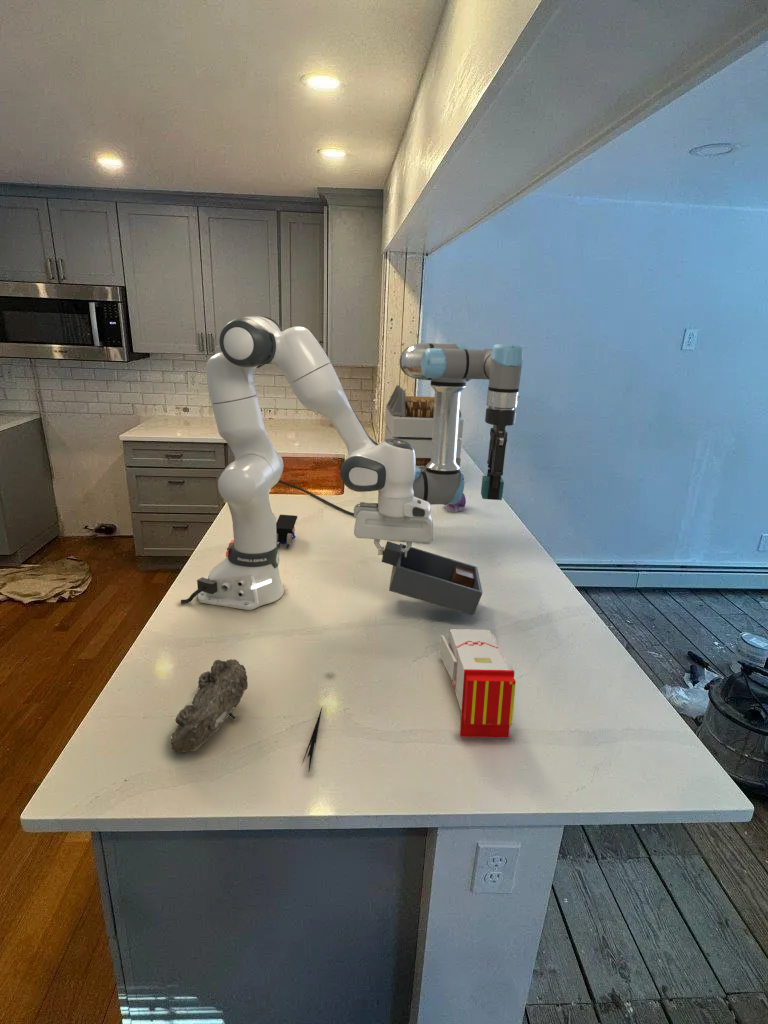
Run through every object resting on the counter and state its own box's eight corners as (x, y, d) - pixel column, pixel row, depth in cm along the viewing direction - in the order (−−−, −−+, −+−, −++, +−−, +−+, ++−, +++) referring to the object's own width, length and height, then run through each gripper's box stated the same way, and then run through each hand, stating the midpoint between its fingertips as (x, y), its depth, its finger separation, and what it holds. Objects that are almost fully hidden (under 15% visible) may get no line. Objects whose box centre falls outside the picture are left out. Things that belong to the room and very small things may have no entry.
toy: (489, 613, 130) (525, 677, 101) (485, 667, 133) (518, 744, 104) (437, 612, 130) (457, 676, 101) (434, 666, 133) (453, 743, 103)
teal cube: (482, 498, 148) (484, 480, 147) (480, 493, 153) (482, 475, 151) (501, 500, 148) (504, 481, 147) (499, 494, 153) (501, 476, 151)
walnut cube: (449, 589, 149) (456, 573, 148) (449, 581, 154) (455, 565, 152) (468, 595, 150) (474, 578, 148) (466, 586, 154) (472, 570, 153)
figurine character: (292, 555, 182) (298, 532, 196) (292, 534, 179) (298, 513, 192) (272, 554, 182) (279, 532, 195) (270, 533, 179) (278, 512, 192)
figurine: (452, 514, 221) (455, 477, 216) (438, 506, 229) (441, 470, 224) (472, 511, 225) (475, 475, 220) (457, 503, 234) (460, 468, 229)
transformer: (381, 463, 289) (385, 382, 275) (444, 464, 292) (450, 384, 279) (389, 482, 257) (393, 392, 243) (459, 483, 261) (467, 394, 247)
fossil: (195, 660, 117) (247, 628, 112) (227, 691, 120) (279, 661, 115) (146, 746, 98) (206, 711, 93) (185, 779, 101) (245, 748, 96)
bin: (374, 586, 140) (384, 556, 138) (379, 561, 155) (388, 533, 152) (473, 616, 141) (485, 586, 138) (469, 588, 156) (479, 561, 153)
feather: (331, 679, 122) (336, 673, 122) (307, 777, 96) (313, 769, 95) (324, 675, 122) (329, 669, 121) (298, 772, 95) (304, 764, 95)
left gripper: (352, 505, 139) (350, 557, 143) (436, 511, 138) (431, 563, 142) (355, 497, 145) (353, 547, 149) (435, 503, 144) (431, 553, 148)
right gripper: (522, 414, 134) (510, 507, 142) (511, 403, 151) (501, 487, 159) (490, 413, 135) (480, 505, 142) (482, 402, 151) (474, 485, 159)
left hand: (392, 555), depth 146 cm, fingers closed on bin, 4 cm apart
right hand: (491, 495), depth 151 cm, fingers closed on teal cube, 5 cm apart
